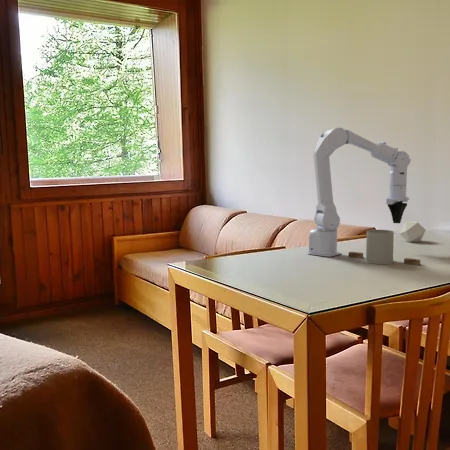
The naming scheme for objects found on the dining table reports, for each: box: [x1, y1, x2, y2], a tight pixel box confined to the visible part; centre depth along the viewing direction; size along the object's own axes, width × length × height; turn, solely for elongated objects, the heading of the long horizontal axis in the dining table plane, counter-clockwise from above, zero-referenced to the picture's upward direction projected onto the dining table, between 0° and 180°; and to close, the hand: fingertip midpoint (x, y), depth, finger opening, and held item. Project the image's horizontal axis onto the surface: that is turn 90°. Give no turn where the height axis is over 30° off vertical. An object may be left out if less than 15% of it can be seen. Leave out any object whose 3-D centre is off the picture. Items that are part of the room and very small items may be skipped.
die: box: [399, 220, 426, 243], centre depth 204 cm, size 8×9×10 cm
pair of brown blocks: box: [348, 251, 421, 266], centre depth 167 cm, size 24×2×2 cm, turn 49°
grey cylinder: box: [365, 229, 395, 265], centre depth 164 cm, size 8×8×10 cm
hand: (396, 223), depth 181 cm, fingers closed
